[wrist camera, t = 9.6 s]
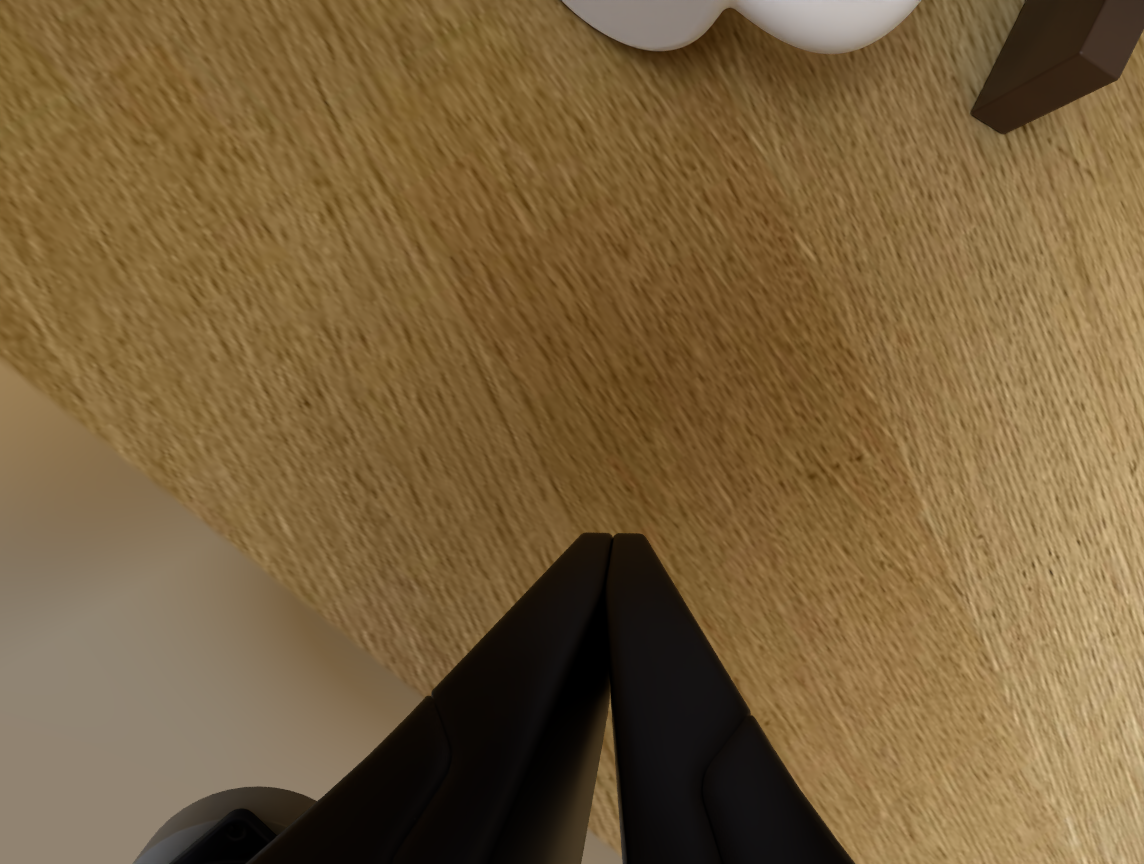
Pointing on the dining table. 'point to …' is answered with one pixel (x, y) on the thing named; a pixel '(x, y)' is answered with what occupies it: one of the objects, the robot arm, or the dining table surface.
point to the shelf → (1058, 58)
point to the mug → (774, 3)
